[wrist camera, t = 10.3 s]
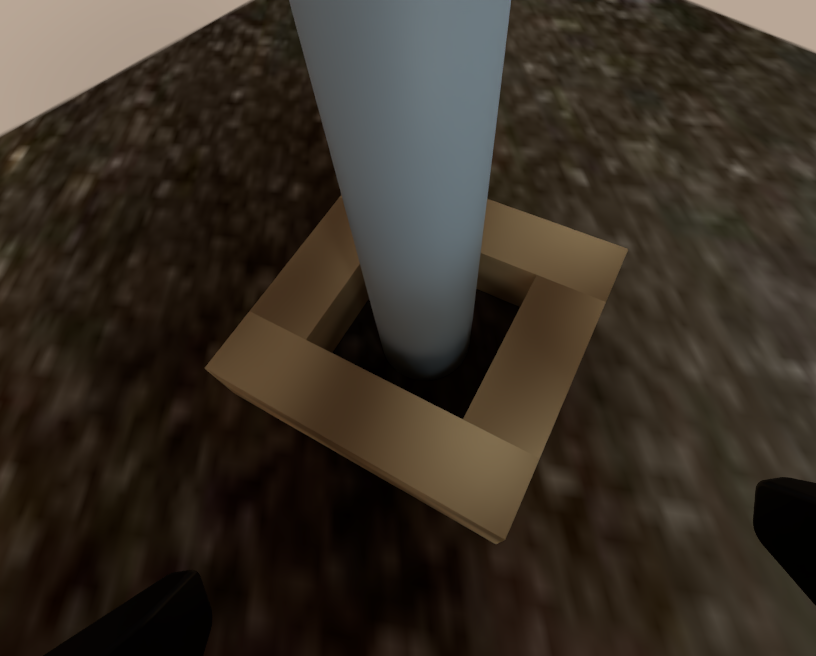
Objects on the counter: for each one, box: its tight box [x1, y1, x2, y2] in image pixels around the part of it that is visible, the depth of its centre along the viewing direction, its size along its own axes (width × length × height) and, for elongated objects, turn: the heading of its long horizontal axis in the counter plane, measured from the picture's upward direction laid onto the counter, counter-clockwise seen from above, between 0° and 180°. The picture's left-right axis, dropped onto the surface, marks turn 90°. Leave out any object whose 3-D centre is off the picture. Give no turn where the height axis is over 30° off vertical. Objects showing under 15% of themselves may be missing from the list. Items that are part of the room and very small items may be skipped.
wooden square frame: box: [205, 195, 628, 544], centre depth 17 cm, size 11×11×2 cm
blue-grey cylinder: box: [289, 0, 511, 381], centre depth 12 cm, size 4×4×16 cm
